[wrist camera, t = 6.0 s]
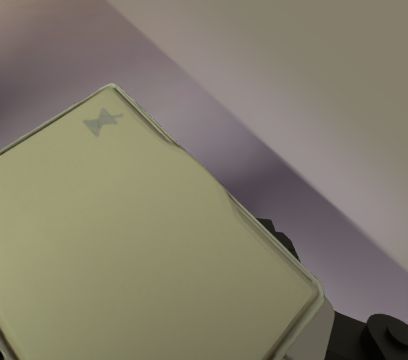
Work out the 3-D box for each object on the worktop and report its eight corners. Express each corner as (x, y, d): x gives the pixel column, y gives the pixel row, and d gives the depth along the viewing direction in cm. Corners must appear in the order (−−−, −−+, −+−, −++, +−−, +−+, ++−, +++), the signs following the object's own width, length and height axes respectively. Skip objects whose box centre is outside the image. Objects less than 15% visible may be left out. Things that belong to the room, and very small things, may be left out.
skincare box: (118, 252, 16) (-99, 188, 4) (168, 208, 17) (105, 66, 5) (182, 335, 14) (111, 600, 3) (234, 280, 15) (341, 291, 4)
